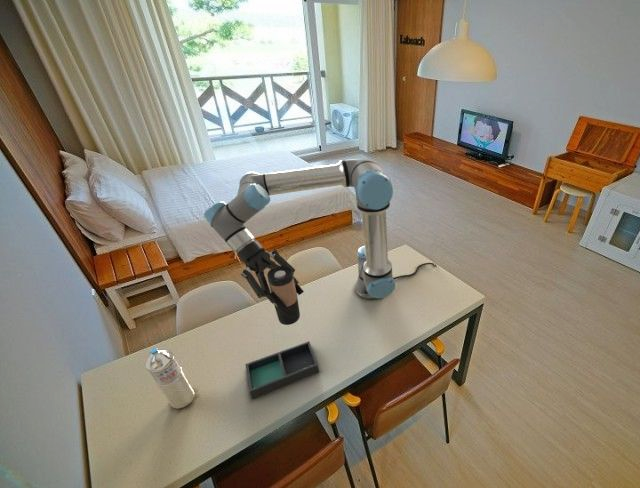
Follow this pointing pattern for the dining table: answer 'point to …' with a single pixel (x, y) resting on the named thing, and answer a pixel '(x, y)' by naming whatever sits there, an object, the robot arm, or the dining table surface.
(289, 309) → the travel mug
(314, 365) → the divided organizer tray
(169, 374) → the water bottle
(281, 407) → the dining table surface
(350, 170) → the robot arm
